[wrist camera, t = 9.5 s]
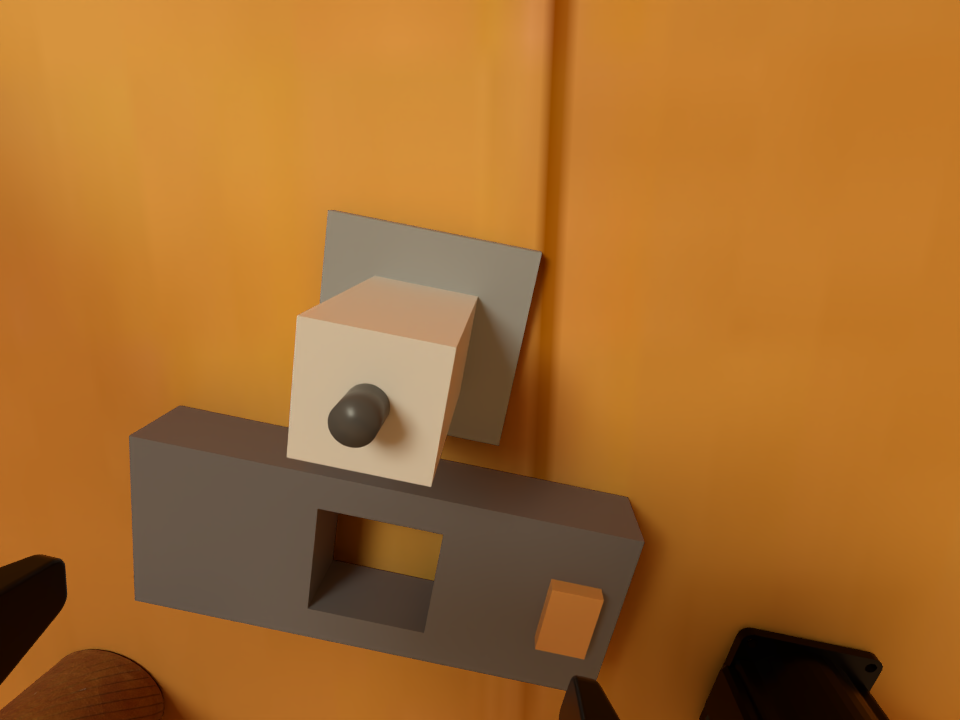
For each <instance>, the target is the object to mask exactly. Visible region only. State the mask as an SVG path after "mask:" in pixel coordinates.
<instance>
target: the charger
mask: <svg viewBox="0 0 960 720" xmlns="http://www.w3.org/2000/svg"><path fill="white" fill-rule="evenodd" d="M477 299H478V296H473V295H468V294H463V293H458V292H453V291H449V290H444V289H439V288H434V287H429V286H424V285H419V284H414V283H409V282H404V281H399V280H394V279H389V278H384V277H379V276H373V277H371V278H369V279H367V280H365V281H363V282H361V283H359V284H358V285H356V286H354V287H352V288H350V289H348V290H346V291H344V292H342V293H340V294H338V295H336V296H334V297H332V298H330V299H328V300H326V301H324V302H322V303H320V304H319V305H317V306H315V307H313V308H311V309H309V310H307V311H305V312H303V313H301V314H299V315H297V324H296V338H295V351H294V365H293V378H292V391H291V405H290V418H289V431H288V445H287V458H292V459H297V460H302V461H307V462H312V463H317V464H321V465H326V466H331V467H336V468H341V469H346V470H351V471H356V472H360V473H365V474H370V475H375V476H380V477H385V478H390V479H395V480H399V481H404V482H409V483H414V484H419V485H424V486H429V487H431V486H432V483H433V479H434V476H435V473H436V470H437V466H438V463H439V460H440V456H441V453H442V450H443V446H444V443H445V440H446V437H447V433H448V430H449V427H450V423H451V420H452V417H453V414H454V410H455V407H456V404H457V400H458V397H459V394H460V389H461V384H462V379H463V373H464V368H465V363H466V357H467V352H468V347H469V341H470V336H471V331H472V326H473V320H474V315H475V310H476V304H477Z"/></svg>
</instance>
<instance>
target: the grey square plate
mask: <svg viewBox="0 0 960 720" xmlns="http://www.w3.org/2000/svg"><path fill="white" fill-rule="evenodd" d="M541 255H542V252H541V251H536V250H531V249H526V248H521V247H516V246H511V245H506V244H501V243H496V242H491V241H486V240H481V239H476V238H471V237H466V236H461V235H456V234H451V233H446V232H441V231H436V230H431V229H426V228H421V227H416V226H411V225H406V224H401V223H396V222H391V221H386V220H381V219H376V218H371V217H366V216H361V215H356V214H351V213H346V212H341V211H336V210H328V217H327V229H326V240H325V251H324V262H323V273H322V285H321V296H320V303H322V302H324V301H326V300H328V299H330V298H332V297H334V296H336V295H338V294H340V293H342V292H344V291H346V290H348V289H350V288H352V287H354V286H356V285H358V284H359V283H361V282H363V281H365V280H367V279H369V278H371V277H373V276H379V277H384V278H389V279H394V280H399V281H404V282H409V283H414V284H419V285H424V286H429V287H434V288H439V289H444V290H449V291H453V292H458V293H463V294H468V295H473V296H478V299H477V304H476V310H475V315H474V320H473V326H472V331H471V336H470V341H469V347H468V352H467V357H466V363H465V368H464V373H463V379H462V384H461V389H460V394H459V397H458V400H457V404H456V407H455V410H454V414H453V417H452V420H451V423H450V427H449V430H448V433H447V435H449V436H454V437H459V438H464V439H469V440H474V441H478V442H483V443H488V444H493V445H498V446H499V442H500V438H501V433H502V429H503V425H504V420H505V416H506V411H507V407H508V402H509V398H510V393H511V389H512V384H513V380H514V375H515V371H516V366H517V362H518V358H519V353H520V349H521V344H522V340H523V335H524V331H525V326H526V322H527V317H528V313H529V308H530V304H531V299H532V295H533V291H534V286H535V282H536V277H537V273H538V268H539V264H540V259H541Z"/></svg>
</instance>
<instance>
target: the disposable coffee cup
mask: <svg viewBox="0 0 960 720" xmlns="http://www.w3.org/2000/svg"><path fill="white" fill-rule="evenodd" d="M163 710H164V703H163V697H162V694H161V691H160V689H159V688H158V686H157V684H156V683H155V681H154V680H153V679H152V678H151V677H150V675H149V674H148V673H147V672H146V671H145V670H143V669H142V668H141V667H140V666H138V665H137V664H135V663H134V662H132V661H131V660H129V659H126V658H124V657H122V656H120V655H117V654H115V653H111V652H107V651H101V650H83V651H77V652H74V653H72V654H69V655H67V656H66V657H64V658H63V659H62V660H61V661H59V662H58V663H57V664H56V665H55V666H54V667H52V668H51V669H50V670H49V671H48V672H46V673H45V674H44V675H43V676H41V677H40V678H39V679H38V680H36V681H35V682H34V683H33V684H32V685H31V686H29V687H28V688H27V689H26V690H24V691H23V692H22V693H21V694H20V695H18V696H17V697H16V698H15V699H14V700H12V701H11V702H10V703H9V704H7V705H6V706H5V707H4V708H3V709H1V710H0V720H160V719H161V717H162V715H163Z"/></svg>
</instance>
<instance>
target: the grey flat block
mask: <svg viewBox="0 0 960 720" xmlns="http://www.w3.org/2000/svg"><path fill="white" fill-rule="evenodd" d="M288 431H289V428H287V427H282V426H278V425H273V424H268V423H263V422H258V421H253V420H248V419H243V418H239V417H234V416H229V415H224V414H219V413H214V412H209V411H204V410H199V409H195V408H190V407H185V406H178V407H176V408H175V409H173V410H171V411H170V412H168V413H166V414H165V415H163V416H161V417H160V418H158V419H156V420H155V421H153V422H151V423H150V424H148V425H146V426H145V427H143V428H141V429H140V430H138V431H136V432H135V433H133V434H131V435H130V436H129V447H130V475H131V503H132V531H133V559H134V587H135V600H136V601H141V602H146V603H150V604H155V605H160V606H165V607H169V608H174V609H179V610H184V611H188V612H193V613H198V614H203V615H208V616H212V617H217V618H222V619H227V620H231V621H236V622H241V623H246V624H250V625H255V626H260V627H265V628H270V629H274V630H279V631H284V632H289V633H293V634H298V635H303V636H308V637H312V638H317V639H322V640H327V641H331V642H336V643H341V644H346V645H351V646H355V647H360V648H365V649H370V650H374V651H379V652H384V653H389V654H393V655H398V656H403V657H408V658H413V659H417V660H422V661H427V662H432V663H436V664H441V665H446V666H451V667H455V668H460V669H465V670H470V671H475V672H479V673H484V674H489V675H494V676H498V677H503V678H508V679H513V680H517V681H522V682H527V683H532V684H536V685H541V686H546V687H551V688H556V689H560V690H565V691H567V688H568V685H569V682H570V680H571V678H572V677H573V676H574V675H578V676H583V677H587V678H592V679H595V680H596V679H597V677H598V674H599V671H600V668H601V665H602V662H603V659H604V657H605V654H606V651H607V648H608V645H609V642H610V639H611V637H612V634H613V631H614V628H615V625H616V622H617V620H618V617H619V614H620V611H621V608H622V605H623V602H624V600H625V597H626V594H627V591H628V588H629V585H630V582H631V580H632V577H633V574H634V571H635V568H636V565H637V562H638V560H639V557H640V554H641V551H642V548H643V545H644V539H643V536H642V534H641V531H640V528H639V526H638V523H637V520H636V518H635V515H634V512H633V510H632V507H631V504H630V502H629V499H628V497H624V496H619V495H614V494H609V493H604V492H599V491H595V490H590V489H585V488H580V487H575V486H570V485H565V484H560V483H556V482H551V481H546V480H541V479H536V478H531V477H526V476H521V475H517V474H512V473H507V472H502V471H497V470H492V469H487V468H482V467H478V466H473V465H468V464H463V463H458V462H453V461H448V460H443V459H440V460H439V463H438V466H437V470H436V473H435V476H434V479H433V483H432V486H431V487H429V486H424V485H419V484H414V483H409V482H404V481H399V480H395V479H390V478H385V477H380V476H375V475H370V474H365V473H360V472H356V471H351V470H346V469H341V468H336V467H331V466H326V465H321V464H317V463H312V462H307V461H302V460H297V459H292V458H287V445H288ZM338 513H341V514H346V515H351V516H356V517H361V518H366V519H370V520H375V521H380V522H385V523H390V524H395V525H399V526H404V527H409V528H414V529H419V530H424V531H428V532H433V533H438V534H443V539H442V544H441V549H440V554H439V560H438V565H437V570H436V575H435V580H434V581H431V580H426V579H422V578H417V577H412V576H407V575H402V574H398V573H393V572H388V571H383V570H378V569H373V568H369V567H364V566H359V565H354V564H349V563H345V562H340V561H335V560H333V553H334V544H335V536H336V527H337V519H338Z"/></svg>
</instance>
